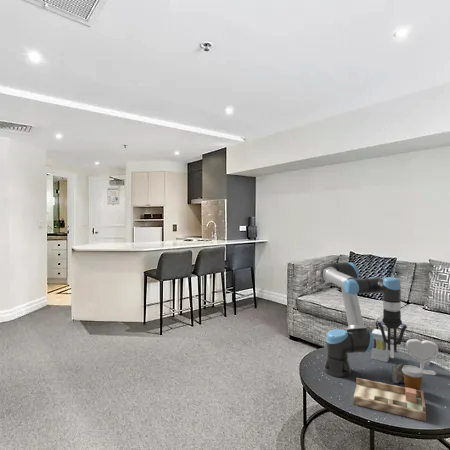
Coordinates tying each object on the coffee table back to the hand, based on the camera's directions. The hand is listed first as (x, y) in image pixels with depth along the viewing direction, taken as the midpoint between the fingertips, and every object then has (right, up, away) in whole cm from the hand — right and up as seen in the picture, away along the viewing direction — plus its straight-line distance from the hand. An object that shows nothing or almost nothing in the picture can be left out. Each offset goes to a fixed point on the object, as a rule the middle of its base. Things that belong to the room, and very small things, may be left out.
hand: (392, 356), depth 157 cm
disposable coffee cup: (+14, -21, +7) cm, 27 cm away
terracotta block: (+7, -19, -3) cm, 21 cm away
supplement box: (+17, -20, +47) cm, 54 cm away
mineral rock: (+16, -21, +18) cm, 32 cm away
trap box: (-3, -22, -2) cm, 22 cm away
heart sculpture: (+32, -20, +28) cm, 48 cm away
